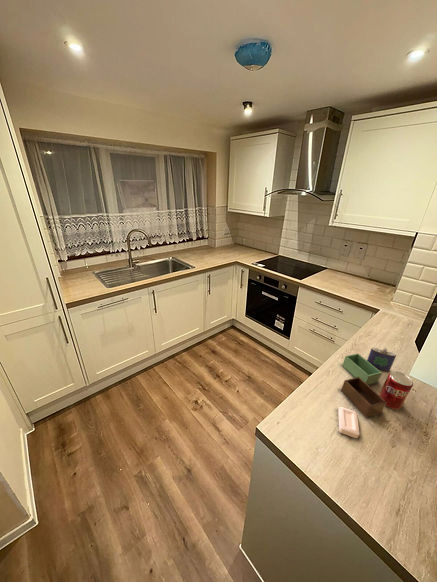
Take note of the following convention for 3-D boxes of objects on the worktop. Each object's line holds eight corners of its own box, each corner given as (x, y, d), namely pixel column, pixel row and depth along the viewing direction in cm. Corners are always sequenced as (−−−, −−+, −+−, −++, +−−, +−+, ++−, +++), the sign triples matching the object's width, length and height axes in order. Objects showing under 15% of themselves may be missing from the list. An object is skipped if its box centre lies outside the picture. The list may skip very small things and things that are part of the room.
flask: (388, 368, 104) (397, 349, 99) (390, 373, 101) (399, 353, 96) (365, 362, 107) (372, 343, 102) (365, 366, 104) (373, 347, 100)
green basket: (342, 365, 104) (345, 356, 102) (354, 362, 106) (358, 353, 104) (364, 386, 94) (368, 376, 92) (377, 382, 96) (382, 372, 94)
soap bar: (339, 433, 76) (341, 428, 75) (337, 410, 84) (339, 405, 83) (357, 439, 74) (360, 434, 73) (354, 415, 82) (356, 411, 81)
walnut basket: (340, 390, 92) (344, 380, 89) (355, 386, 94) (359, 376, 91) (366, 417, 82) (371, 406, 79) (381, 412, 83) (386, 402, 81)
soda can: (377, 391, 92) (387, 368, 87) (399, 398, 89) (411, 374, 84) (379, 405, 86) (390, 381, 81) (402, 413, 83) (416, 389, 78)
